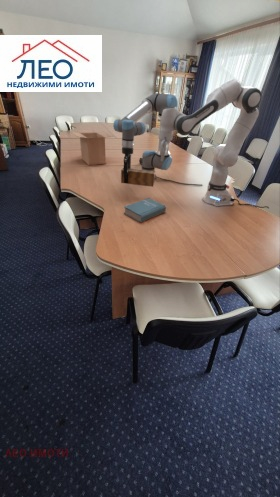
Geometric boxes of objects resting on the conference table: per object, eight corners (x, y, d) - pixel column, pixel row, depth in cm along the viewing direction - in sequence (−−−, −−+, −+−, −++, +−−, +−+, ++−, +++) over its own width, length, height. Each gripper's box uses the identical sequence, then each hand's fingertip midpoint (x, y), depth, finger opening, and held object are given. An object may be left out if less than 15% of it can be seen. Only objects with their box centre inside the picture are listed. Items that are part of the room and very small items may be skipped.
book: (148, 204, 158) (148, 197, 155) (165, 212, 149) (166, 206, 146) (124, 213, 145) (124, 206, 142) (141, 223, 136) (141, 216, 133)
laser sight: (158, 167, 233) (159, 157, 227) (138, 164, 236) (138, 154, 230) (160, 164, 241) (161, 155, 235) (140, 162, 244) (140, 152, 238)
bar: (121, 182, 158) (121, 170, 152) (122, 180, 162) (122, 167, 156) (153, 186, 155) (154, 173, 150) (153, 184, 160) (155, 171, 154)
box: (116, 165, 229) (116, 136, 213) (83, 168, 214) (80, 137, 198) (102, 154, 259) (101, 128, 243) (71, 156, 244) (68, 129, 228)
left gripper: (130, 150, 138) (129, 186, 151) (135, 144, 152) (134, 178, 166) (118, 149, 138) (118, 185, 152) (125, 143, 153) (124, 176, 167)
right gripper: (169, 139, 131) (166, 163, 140) (171, 134, 148) (167, 156, 156) (159, 138, 132) (156, 162, 140) (162, 133, 148) (159, 154, 156)
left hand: (126, 181), depth 159 cm, fingers closed on bar, 5 cm apart
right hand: (162, 159), depth 148 cm, fingers open, 8 cm apart
